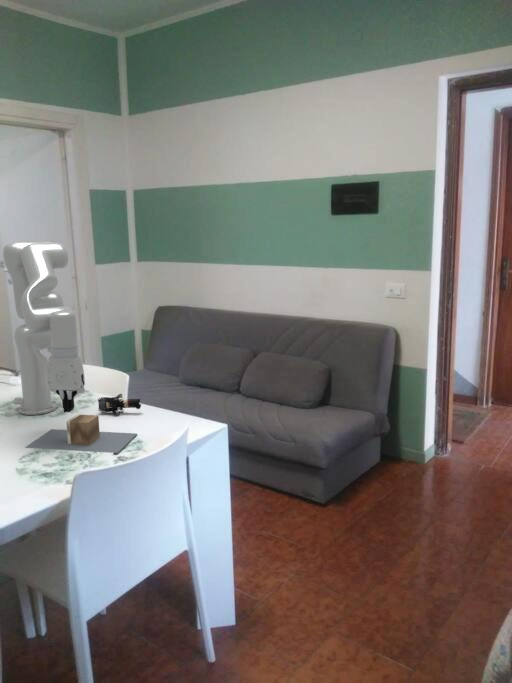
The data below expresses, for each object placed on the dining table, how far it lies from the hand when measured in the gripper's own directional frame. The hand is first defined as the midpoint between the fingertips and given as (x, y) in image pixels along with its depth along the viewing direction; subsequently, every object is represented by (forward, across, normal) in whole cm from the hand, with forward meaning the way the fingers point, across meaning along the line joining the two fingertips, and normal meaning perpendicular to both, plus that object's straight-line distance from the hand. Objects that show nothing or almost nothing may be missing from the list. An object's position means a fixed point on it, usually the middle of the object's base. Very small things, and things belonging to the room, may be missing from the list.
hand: (68, 410), depth 175 cm
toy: (+10, +5, +28) cm, 30 cm away
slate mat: (+10, +4, 0) cm, 11 cm away
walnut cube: (+6, +1, 0) cm, 6 cm away
